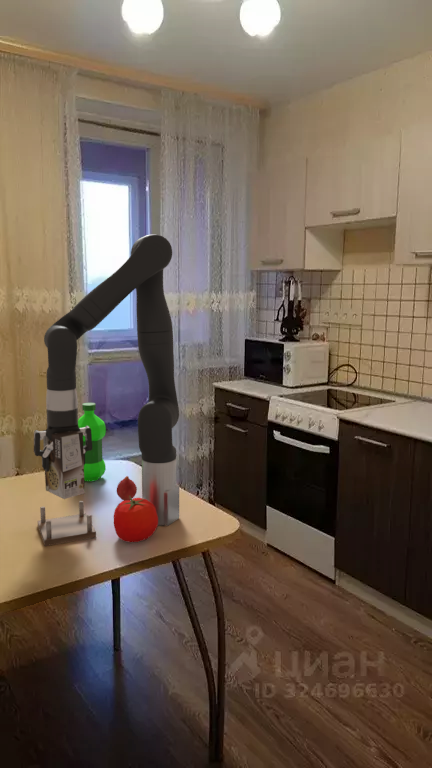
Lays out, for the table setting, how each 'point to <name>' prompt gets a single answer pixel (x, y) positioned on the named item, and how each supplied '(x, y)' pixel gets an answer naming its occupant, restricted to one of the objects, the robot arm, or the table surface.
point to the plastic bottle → (93, 443)
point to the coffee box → (65, 464)
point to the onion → (126, 489)
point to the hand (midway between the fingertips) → (63, 468)
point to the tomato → (135, 520)
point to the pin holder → (66, 527)
